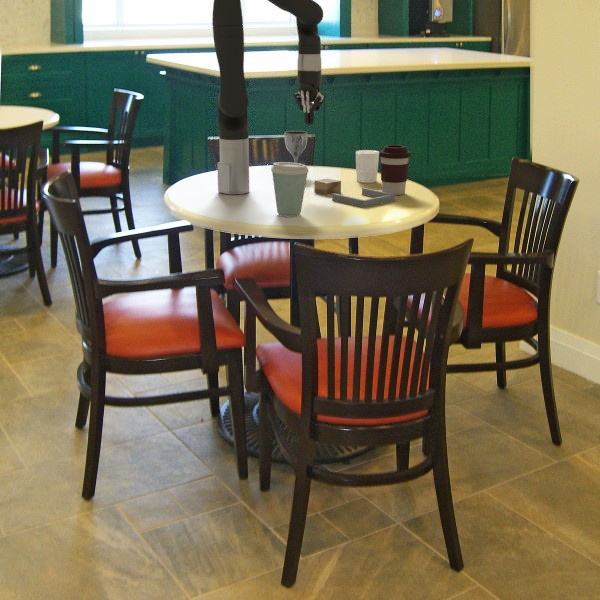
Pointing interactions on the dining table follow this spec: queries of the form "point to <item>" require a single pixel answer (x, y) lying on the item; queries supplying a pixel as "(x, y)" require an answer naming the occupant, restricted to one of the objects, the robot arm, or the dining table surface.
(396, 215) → the dining table surface
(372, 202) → the grey corral
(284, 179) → the disposable coffee cup
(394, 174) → the coffee cup
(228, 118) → the robot arm
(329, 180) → the walnut block
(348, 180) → the dining table surface
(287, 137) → the wine glass
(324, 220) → the dining table surface
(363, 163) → the white cup
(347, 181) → the dining table surface
